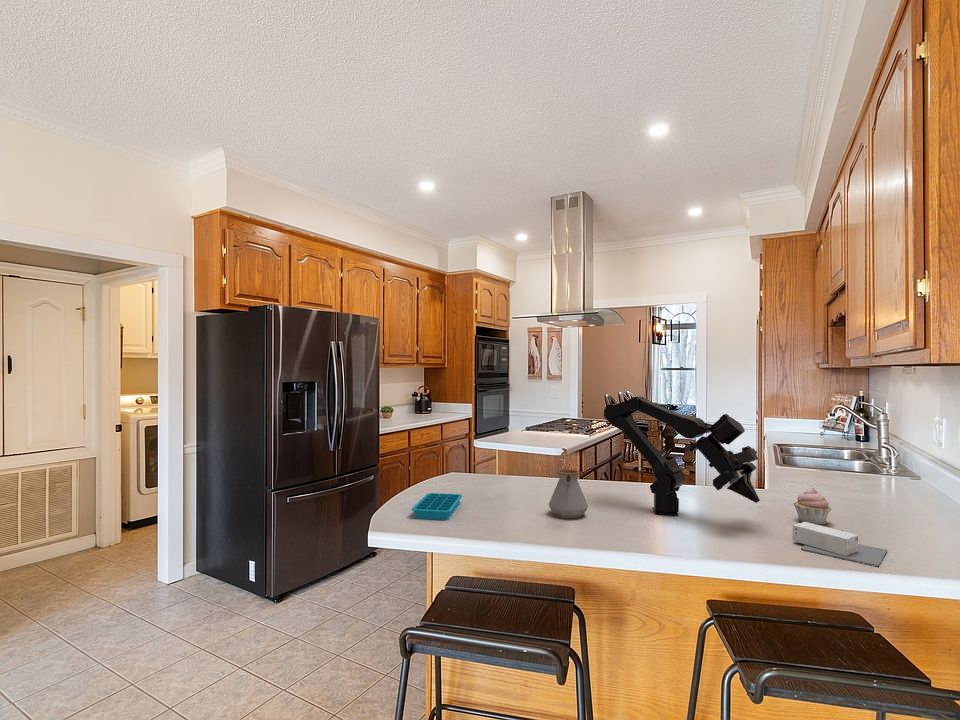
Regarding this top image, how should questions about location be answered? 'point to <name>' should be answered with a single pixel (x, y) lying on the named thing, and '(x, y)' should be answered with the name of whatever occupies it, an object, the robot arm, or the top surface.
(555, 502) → the coffee pot
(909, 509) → the top surface
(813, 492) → the cupcake
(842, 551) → the skincare box
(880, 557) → the mat
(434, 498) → the ice cube tray
